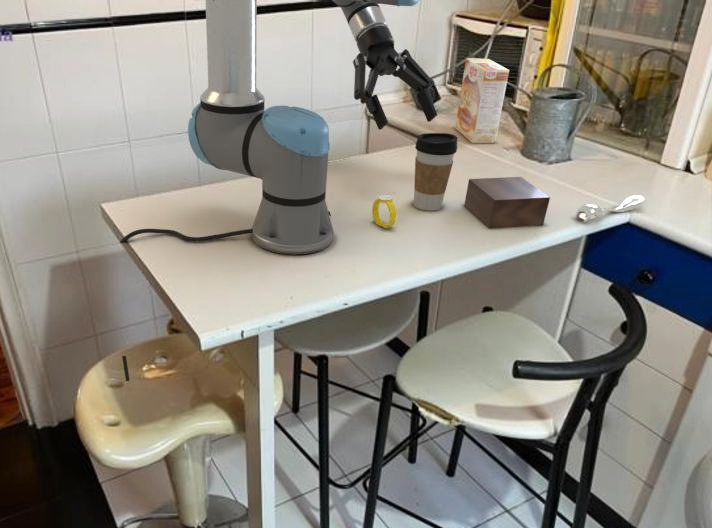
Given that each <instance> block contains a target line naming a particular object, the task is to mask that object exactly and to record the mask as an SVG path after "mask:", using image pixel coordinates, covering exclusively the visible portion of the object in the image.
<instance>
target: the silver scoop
mask: <svg viewBox="0 0 712 528" xmlns="http://www.w3.org/2000/svg"><path fill="white" fill-rule="evenodd" d="M633 200H636V201H634V202H633ZM637 200H638V201H637ZM644 202H645V198H644V196H642V195H632V196H629V197H627V198H625V200H623V201H622V202H621V203H619V204H618V205H617V206H616V207H614V208H606V207H602V206H600V205H598V204H592V203H591V204H590V203H589V204H588V203H587V204H584V205H581V206H580V207H578V208H577V209H576V211H575V219H576V220H577V221H578V222H581V223H585V222H589V221H591V220H593V219H595V218H596V217H597V218H598V216H600V215H602V214H603V213H604V211H607V212H614V213H623V212H628V211H631V210H633V209H636V208H638V207H640V206H641V205H643V204H644Z"/></svg>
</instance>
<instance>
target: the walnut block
mask: <svg viewBox="0 0 712 528" xmlns="http://www.w3.org/2000/svg"><path fill="white" fill-rule="evenodd" d="M550 200H551V197H550V196H549V195H548V194H546V193H544V192H543V191H542V190H540V189H539V188H537V187H536V186H535V185H533V184H532V183H530V182H529V181H528V180H527V179H525V178H524V177H523V176H507V177H482V178H469V179H468V182H467V188H466V193H465V199H464V204H463V206H464V207H465V208H466V209H467V210H468V211H469V212H471V213H472V214H473V215H474V216H475V217H476V218H477V219H478V220H479V221H481V222H482V223H483V225H485V226H486V227H487V228H488V229H497V228H498V229H500V228H516V227H533V226H544V224H545V220H546V216H547V212H548V208H549V204H550Z"/></svg>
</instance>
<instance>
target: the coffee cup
mask: <svg viewBox="0 0 712 528" xmlns="http://www.w3.org/2000/svg"><path fill="white" fill-rule="evenodd" d="M458 139H459V137H458V136H456V135H455V134H452V133H446V132H426V133H422V134H419V135H418V136H417V139H416V142H415V147H414V148H415V150H416V156H415V160H414V161H415V162H414V186H413V187H414V188H413V189H414V193H413V206H414V207H415V208H417V209H419V210H422V211H428V212H429V211H430V212H433V211H438V210H440V209H441V208H442V206H443V202H444V197H445V194H446V190H447V187H448V183H449V179H450V176H451V171H452V167H453V165H454V164H453V163H454V156H455V154H456V153H457V152H458Z"/></svg>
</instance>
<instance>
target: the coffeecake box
mask: <svg viewBox="0 0 712 528" xmlns="http://www.w3.org/2000/svg"><path fill="white" fill-rule="evenodd" d="M509 74H510V69H508V68H507V67H504V66H502V65H501V64H499V63H497V62H495V61H494V60H492V59H490V58H477V57H476V58H475V57H467V58H465V62H464V69H463V76H462V81H461V89H460V93H459V94H460V95H459V102H458V107H457V114H456V119H455V126H454V128H455V129H456V131H458V132H459V133H460V134H461V135H462V136H464V137H465V138H466V139H467V140H468V141H469V142H470V143H471V144H496V143H497V136H498V131H499V125H500V121H501V115H502V110H503V104H504V100H505V94H506V89H507V85H508V80H509V79H508V78H509Z"/></svg>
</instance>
